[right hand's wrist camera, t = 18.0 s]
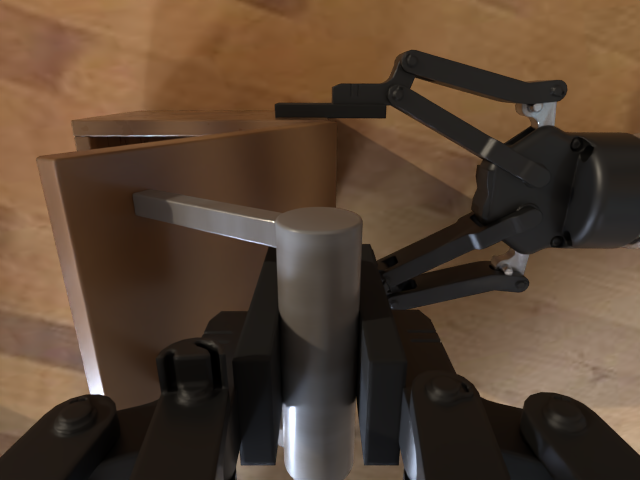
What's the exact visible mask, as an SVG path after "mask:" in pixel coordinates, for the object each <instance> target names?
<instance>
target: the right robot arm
mask: <svg viewBox="0 0 640 480" xmlns="http://www.w3.org/2000/svg"><path fill="white" fill-rule="evenodd" d="M156 365H157V371H158V377H159V383H160V390H161V395H160V398H159V399H158V400H155V401H153V402H150V403H147V404H144V405H140V406H135V407H131V408H127V409H122V410H118V411H117V409H116V404H115V402H114V401H113V400H112V399H111V398H110V397H108V396H104V395H101V394H89V395H83V396H79V397H75V398H71V399H69V400H67V401H65V402H63V403H61V404H59V405H57V406H55V407H54V408H53V409H51V410H50V411H49V412H48V413H46V414H45V415H44V416H43V417H42V418H41V419H40V420H39V421H38V422H37V423H35V424H34V425H33V426H32V427H31V428H30V429H29V430H28V431H27V432H26V433H25V434H24V435H23V436H22V437H21V438H20V439H19V440H18V441H17V442H16V443H15V444H14V445H13V446H12V447H11V448H10V449H9V450H8V451H7V452H6V453H5V454H3V455H2V456H1V457H0V480H237V474H236V464H237V459H238V455H239V450H240V460H241V465H275V464H276V456H277V447H278V439H279V430H280V422H281V413H282V405H283V396H282V370H281V343H280V316H279V308H278V281H277V254H276V248H274V247H270V246H269V247H268V250H267V253H266V257H265V260H264V263H263V266H262V269H261V272H260V275H259V278H258V282H257V285H256V288H255V291H254V294H253V297H252V300H251V303H250V307H249V310H248V311H221V312H220V313H218V314H217V315H216V316H215V317H213V318H212V319H211V320H210V321H209V322H208V325H207V327H206V329H205V331H204V334H203V335H202V337H201V338H200V337H196V338H189V339H183V340H181V341H178V342H175V343H173V344H171V345H169V346H168V347H166V348H165V349H163V350H162V351H161V352H160V353H159V355H158V356H157V357H156ZM356 399H357V408H358V416H359V425H360V433H361V442H362V451H363V459H364V465H399V455H400V450H401V454H402V459H403V463H404V474H403V480H640V455H639V454H638V453H637V452H636V451H635V450H634V449H633V448H632V447H631V446H629V445H628V444H627V443H626V442H625V441H624V440H623V439H622V438H621V437H620V436H619V435H618V434H617V433H616V432H615V431H614V430H613V429H612V428H611V427H610V426H609V425H608V424H607V423H606V422H605V421H603V420H602V419H601V418H600V417H599V416H598V415H597V414H596V413H595V412H594V411H592V410H591V409H590V408H588V407H587V406H586V405H584V404H583V403H581V402H579V401H577V400H575V399H573V398H570V397H568V396H564V395H560V394H557V393H547V392H540V393H536V394H533V395H530V396H529V397H528V398H527V399H526V400H525V402H524V406H523V409H521V408H516V407H512V406H508V405H503V404H499V403H495V402H492V401H489V400H486V399H484V398H482V397H480V395H479V392H478V391H477V389H476V388H475V386H474V385H473V384H472V383H471V382H469V381H468V380H467V379H465V378H464V377H462V376H460V375H457V374H456V372H455V370H454V368H453V366H452V364H451V362H450V359H449V357H448V355H447V353H446V351H445V349H444V347H443V345H442V343H441V342H440V338H439V336H438V334H437V333H436V330H435V328H434V326H433V324H432V322H431V319H429V318H428V317H427V316H426V315H424V314H423V313H422V312H421V311H419V310H391V308H390V305H389V302H388V298H387V295H386V292H385V289H384V286H383V283H382V280H381V276H380V273H379V270H378V267H377V264H376V261H375V258H374V255H373V251H372V248H371V245H370V244H362V254H361V280H360V306H359V332H358V358H357V384H356Z"/></svg>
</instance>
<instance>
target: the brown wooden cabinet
mask: <svg viewBox="0 0 640 480" xmlns="http://www.w3.org/2000/svg"><path fill="white" fill-rule="evenodd" d="M317 121H329V120H328V118H275V111H135V112H127V113H120V114H113V115H106V116H98V117H91V118H84V119H77V120H71V125H72V130H73V135H74V136H75V137H74V139H75V145H76V150H77V151H84V150H92V149H100V148H108V147H116V146H124V145H132V144H140V143H148V142H156V141H164V140H172V139H180V138H188V137H196V136H204V135H212V134H220V133H228V132H236V131H244V130H252V129H260V128H268V127H276V126H285V125H293V124H301V123H309V122H317Z"/></svg>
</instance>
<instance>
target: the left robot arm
mask: <svg viewBox="0 0 640 480" xmlns="http://www.w3.org/2000/svg"><path fill="white" fill-rule="evenodd" d="M414 78H418V79H421V80H425V81H429V82H432V83H436V84H439V85H443V86H446V87H450V88H453V89H457V90H460V91H464V92H467V93H471V94H474V95H478V96H481V97H485V98H488V99H492V100H495V101H500V102H507V103H516V105H515V108H516V112H517V113H518V114H519V115H521V116H526V117H528V118H529V119H530V121H531V126H530V127H528V128H527V129H525V130H524V131H522V132H521V133H519V134H518V135H516V136H515V137H513V138H512V139H510V140H509V141H507V142H506V143H504V144H503V143H502V142H500V141H498V140H496V139H494V138H492V137H490V136H488V135H486V134H485V133H483V132H481V131H480V130H478V129H476V128H475V127H473V126H471V125H470V124H468V123H466V122H465V121H463V120H461V119H460V118H458V117H456V116H455V115H453V114H451V113H450V112H448V111H446V110H444V109H443V108H441V107H439V106H438V105H436V104H434V103H433V102H431V101H429V100H428V99H426V98H424V97H423V96H421V95H419V94H418V93H416V92H414V91H413V90H411V89H410V88H411V85H412V83H413V81H414ZM566 93H567V85H566V83H565V82H563V81H562V80H540V81H528V82H524V81H520V80H517V79H513V78H510V77H506V76H503V75H499V74H496V73H493V72H489V71H486V70H482V69H479V68H475V67H472V66H468V65H465V64H462V63H458V62H455V61H451V60H448V59H444V58H441V57H438V56H434V55H431V54H427V53H424V52H420V51H417V50H410V51H406V52H404V53H402V54H400V55H398V56H397V57H396V59H395V63H394V67H393V69H392V72H391V74H390V76H389V78H388V79H387V80H386V81H385V82H383V83H381V84H338V85H336V86H334V87H332V103H277V104H275V118H386V105H391V106H393V107H394V108H396V109H398V110H399V111H401V112H403V113H405V114H406V115H408V116H410V117H411V118H413V119H415V120H417V121H418V122H420V123H422V124H423V125H425V126H427V127H429V128H430V129H432V130H434V131H435V132H437V133H439V134H441V135H442V136H444V137H446V138H448V139H449V140H451V141H453V142H454V143H456V144H458V145H460V146H461V147H463V148H465V149H466V150H468V151H469V152H471V153H473V154H474V155H476V156H478V157H479V158H481V159H483V161H482V163H481V165H477V171H476V182H477V190H476V192H475V195H474V197H473V201H472V208H471V210H472V211H473V212H471V213H469V214H467V215H465V216H463V217H461V218H460V219H458V221H457V222H456V223H455V224H453V225H451V226H449V227H447V228H444V229H442V230H440V231H438V232H436V233H434V234H432V235H430V236H428V237H426V238H424V239H421V240H419V241H417V242H415V243H413V244H411V245H409V246H407V247H405V248H403V249H400V250H398V251H396V252H394V253H392V254H390V255H388V256H386V257H384V258H382V259H380V260H378V261H376V258H375V255H374V252H373V255H374V258H375V261H376V264H377V267H378V270H379V273H380V276H381V280H382V283H383V286H384V289H385V292H386V295H387V298H388V302H389V305H390V308H391V310H406V309H411V308H416V307H420V306H425V305H429V304H434V303H438V302H443V301H447V300H452V299H456V298H461V297H466V296H470V295H475V294H479V293H484V292H488V291H493V290H497V291H508V292H523V291H525V290H526V289H527V288H528V286H529V281H528V279H527V278H526V277H525V276H524V271H525V268H526V264H527V261H528V258H529V254H533V253H535V252H537V251H539V250H542V249H545V248H550V247H553V248H619V247H623V248H628V249H640V133H635V134H628V133H569V132H564V131H562V130H560V129H559V128H557V127H555V126H554V124H555V114H556V103H557V101H560V100H561V99H563V98H564V97H565V95H566ZM500 241H503V242H504V243H506V244H507V245H508V246H510V249H509V251H508V252H507V253H505V254H503V255H498V256H497V255H495V256H493V257H492V258H491V261H478V262H472V263H468V264H464V265H459V266H455V267H450V268H446V269H441V270H437V271H433V272H428V273H424V272H426V271H428V270H431V269H433V268H435V267H437V266H439V265H441V264H443V263H446V262H448V261H450V260H452V259H454V258H456V257H459V256H461V255H463V254H465V253H467V252H469V251H472V250H474V249H484V248H487V247H489V246H491V245H493V244H495V243H498V242H500ZM372 251H373V250H372ZM422 273H424V274H422Z"/></svg>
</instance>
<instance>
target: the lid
mask: <svg viewBox="0 0 640 480" xmlns="http://www.w3.org/2000/svg"><path fill="white" fill-rule="evenodd" d="M36 161H37V165H38V170H39V174H40V178H41V183H42V187H43V191H44V196H45V200H46V204H47V209H48V213H49V217H50V222H51V226H52V230H53V235H54V239H55V243H56V248H57V252H58V256H59V261H60V265H61V269H62V274H63V278H64V282H65V287H66V291H67V295H68V300H69V304H70V308H71V313H72V317H73V321H74V326H75V330H76V334H77V339H78V343H79V347H80V352H81V356H82V360H83V365H84V369H85V373H86V378H87V382H88V386H89V391H90V394H101V395H104V396H108V397H110V398H111V399H112V400H113V401H114V402H115V404H116V409H117V411H118V410H122V409H127V408H131V407H135V406H140V405H144V404H147V403H150V402H153V401H155V400H158V399H159V398H160V395H161V390H160V383H159V377H158V371H157V365H156V357H157V356H158V355H159V353H160V352H161V351H162V350H163V349H165V348H166V347H168V346H169V345H171V344H173V343H175V342H178V341H181V340H183V339H189V338H196V337H200V338H201V337H202V335H203V334H204V331H205V329H206V327H207V325H208V322H209V321H210V320H211V319H212V318H213V317H215V316H216V315H217V314H218V313H220V312H221V311H248V310H249V307H250V303H251V300H252V297H253V294H254V291H255V288H256V285H257V282H258V278H259V275H260V272H261V269H262V266H263V263H264V260H265V257H266V253H267V250H268V247H269V246H270V247H274V248H276V254H277V281H278V308H279V316H280V343H281V370H282V396H283V405H282V413H281V422H280V430H279V439H278V445H280V446H281V447H283V448H284V463H285V467H286V469H287V471H288V473H289V474H290V476H291V477H292V478H293V479H294V480H344V479H345V478H346V477H347V475H348V474H349V472H350V471H351V469H352V466H353V461H354V437H355V411H356V384H357V358H358V332H359V306H360V280H361V254H362V228H363V221H362V219H361V217H360V216H359V215H358V214H356V213H354V212H351V211H348V210H344V209H339V208H336V163H337V122H336V121H317V122H309V123H301V124H293V125H285V126H276V127H268V128H260V129H252V130H244V131H236V132H228V133H220V134H212V135H204V136H196V137H188V138H180V139H172V140H164V141H156V142H148V143H140V144H132V145H124V146H116V147H108V148H100V149H92V150H84V151H76V152H68V153H60V154H52V155H44V156H39V157H37V158H36Z"/></svg>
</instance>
